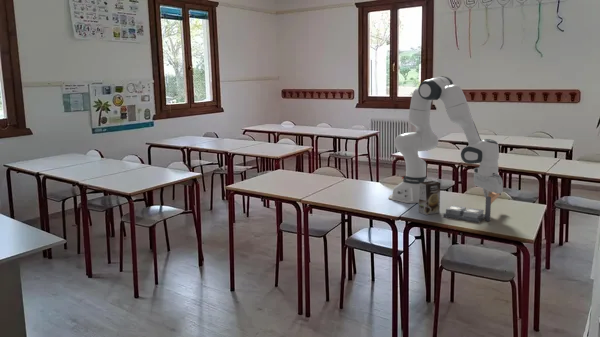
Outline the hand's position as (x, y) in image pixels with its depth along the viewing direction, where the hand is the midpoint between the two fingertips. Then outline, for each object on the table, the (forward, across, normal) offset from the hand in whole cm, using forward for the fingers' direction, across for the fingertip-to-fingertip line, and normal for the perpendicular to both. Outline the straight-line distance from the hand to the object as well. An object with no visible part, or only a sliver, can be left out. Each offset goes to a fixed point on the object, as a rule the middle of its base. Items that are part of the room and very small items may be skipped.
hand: (487, 197), depth 260 cm
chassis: (+8, -2, +14) cm, 16 cm away
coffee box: (+8, +11, +27) cm, 30 cm away
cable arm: (+8, -4, -1) cm, 9 cm away
